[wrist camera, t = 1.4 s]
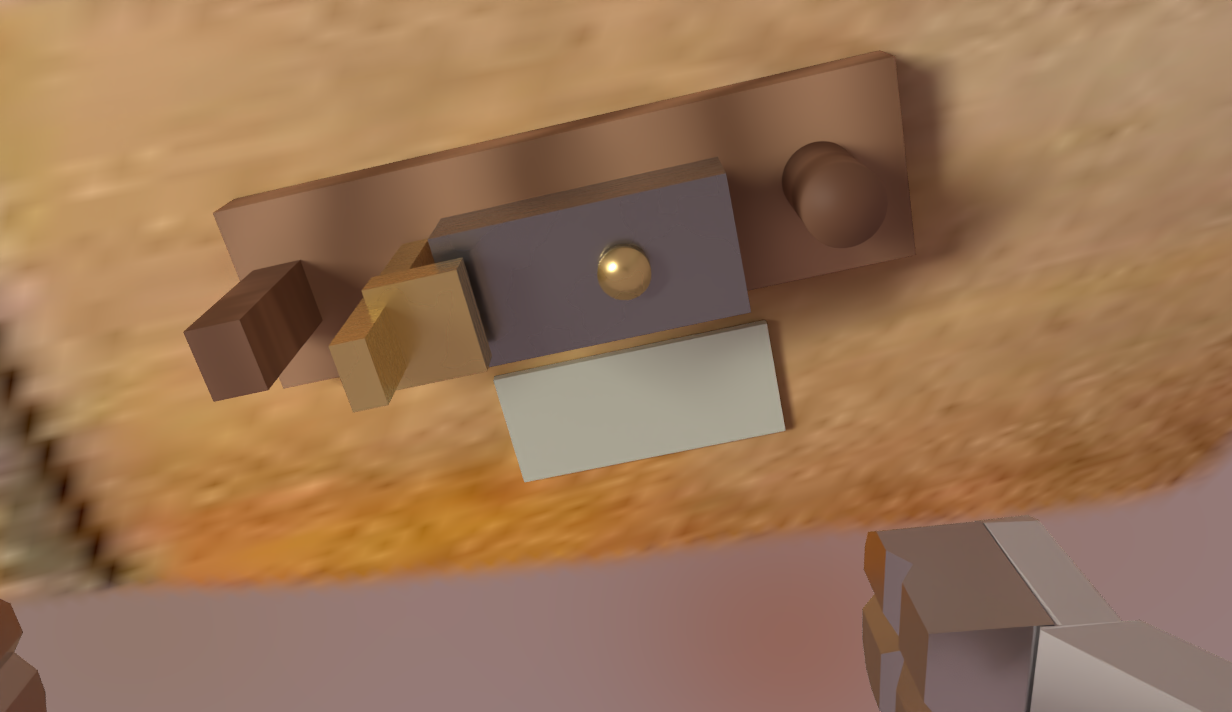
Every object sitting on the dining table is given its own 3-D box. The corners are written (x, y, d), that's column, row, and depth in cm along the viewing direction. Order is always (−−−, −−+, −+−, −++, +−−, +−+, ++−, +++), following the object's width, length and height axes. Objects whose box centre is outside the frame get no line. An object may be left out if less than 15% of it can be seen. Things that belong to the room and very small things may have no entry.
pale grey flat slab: (765, 320, 37) (766, 323, 37) (783, 426, 39) (785, 430, 38) (494, 376, 38) (493, 380, 38) (525, 477, 40) (524, 482, 39)
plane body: (879, 50, 33) (955, 78, 26) (900, 239, 36) (974, 314, 28) (233, 199, 35) (132, 265, 28) (299, 367, 38) (223, 468, 30)
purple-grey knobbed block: (717, 156, 30) (727, 176, 27) (741, 286, 31) (753, 318, 29) (440, 218, 30) (424, 244, 28) (478, 342, 32) (466, 377, 29)
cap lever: (486, 207, 33) (441, 298, 24) (511, 292, 34) (476, 407, 26) (396, 228, 33) (320, 325, 25) (423, 311, 34) (359, 431, 26)
